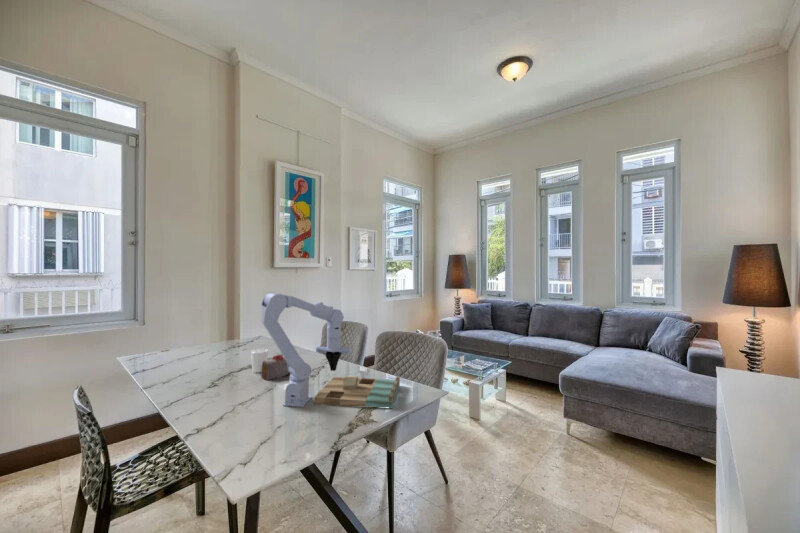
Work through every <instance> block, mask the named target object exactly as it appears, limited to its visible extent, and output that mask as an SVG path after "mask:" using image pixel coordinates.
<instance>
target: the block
mask: <svg viewBox="0 0 800 533" xmlns="http://www.w3.org/2000/svg"><path fill="white" fill-rule="evenodd" d="M344 377H345V378H344V379H343V390H356V388H357V387H358V378H359V375H358V376H356V375H346V376H344Z"/></svg>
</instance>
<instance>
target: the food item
mask: <svg viewBox="0 0 800 533" xmlns="http://www.w3.org/2000/svg"><path fill="white" fill-rule="evenodd" d="M290 374H291V373H290V372H289V371H288V365H287V363H286V359H285V358H284V356H283V355H282V354H281V355H273V357H272V358H270V359H268V360H265V361H263V365H262V372H261V375H260V376H261V379H263V380H265V381H269V380H274V379H276V378H280V379H281V378H282V377H283V378H284V376H288V375H289V376H290Z"/></svg>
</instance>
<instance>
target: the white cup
mask: <svg viewBox="0 0 800 533" xmlns="http://www.w3.org/2000/svg"><path fill="white" fill-rule="evenodd" d="M250 356H251V357H250V358H251V372H252V373H255V374H256V373H257V374H259V373H262V365H263V361H265V360H269V359H268V358H269V349H267V348H257V349H252V350H251V351H250Z"/></svg>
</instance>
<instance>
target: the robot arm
mask: <svg viewBox="0 0 800 533" xmlns="http://www.w3.org/2000/svg"><path fill="white" fill-rule="evenodd" d="M260 304H261V305H260V306H261V323H262V324H263V327H264V328H265V330H266V331H267V332H268V334H269V336H270V337H271V339H272V341H273V343H274V344H275V346H276V347H277V348H278V350H279V351H280V353H281V356H283V357H284V358H285V359H286V363H287V365H288V371H289V372H290V373H291V374H289V382H288V385H287V386H286V388H285V402H284V403H283V404H282V406H285V407H300V408H303V407H304V406H305V405H307V403H308V402H309V401H310V400H311V399H312V398H313V395H310V394H309V392H310V388H309V386H310V385H309V384H310V383H309V382H310V380H309V379H310V376H311V373H312V367H311V365H310V364H309V363H306V362H305V360H304V359H303V357H301V356H300V353H299V352H297V350H296V348H295V347H294V345H293V343H292V342H291V340H290V338H289V337H288V335H287V334H286V332H285V331H284V329H283V327H282V326H281V324H280V323H279V319H280V316H281V314H282V312H284V310H285V308H286V309H290V308H292V307H295V308H298V309H301V310H304V311H307V312H309V313H310V315H311V317H314V318H318V319H320V320H323V321H326V346H317V347H316V348H315V353H316V354H317V353H325V354H324V355H325V358H326V359H327V362H328V364H329V365H328V366H329V369H330V372H332V371H333V372H336V371H337V367H338V362H339V361H340V357H341V356H342V354H347V355H351V354H352V347H351V348H350V347H345V346H344V347H343V346H341V345H342V344H341V342H342V340H341V339H342V338H341V337H342V336H341V335H342V334H341V333H342V322H343V321H344V318H345V316H344V315H343V314H344V313H343V312H342V311H341V310H340V309H337V308H334V306H332V305H329V306H328V305H326V304H324V302H321V301H318V302H314V303H311V302H308V301H306V300H303V299H300V298H297V297H295V296H292V295H287V294H282V293H276V292H272V291H271V292H268V293H266V294H265V295H264V297H263V299H262V301H261V303H260Z"/></svg>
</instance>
